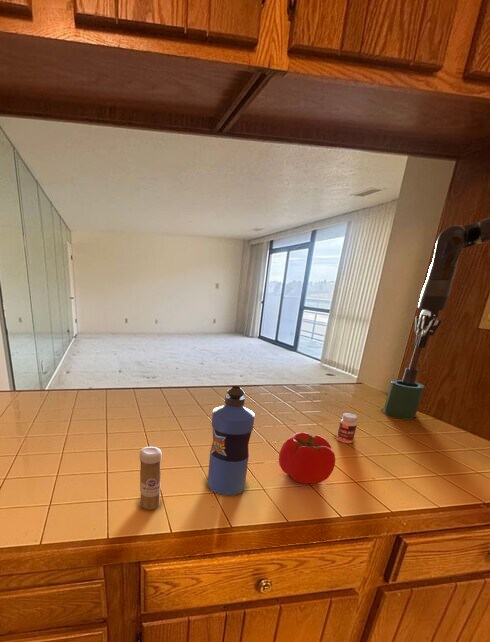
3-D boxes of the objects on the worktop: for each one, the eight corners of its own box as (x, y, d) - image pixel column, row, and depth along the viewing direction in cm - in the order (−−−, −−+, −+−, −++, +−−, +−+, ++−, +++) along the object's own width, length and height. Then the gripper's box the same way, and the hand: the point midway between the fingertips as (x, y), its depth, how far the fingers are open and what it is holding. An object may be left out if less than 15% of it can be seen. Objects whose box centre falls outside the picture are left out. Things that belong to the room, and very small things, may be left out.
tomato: (282, 458, 97) (288, 424, 93) (333, 471, 91) (342, 435, 87) (269, 481, 87) (275, 443, 83) (326, 497, 80) (336, 458, 76)
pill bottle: (336, 441, 108) (342, 417, 105) (335, 435, 112) (341, 411, 109) (353, 444, 106) (359, 419, 103) (352, 438, 110) (358, 414, 107)
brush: (412, 381, 127) (427, 331, 121) (417, 384, 124) (432, 333, 117) (400, 380, 128) (414, 331, 121) (404, 383, 125) (419, 332, 118)
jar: (408, 410, 135) (417, 381, 130) (419, 420, 126) (429, 389, 121) (379, 408, 137) (387, 379, 132) (388, 417, 128) (397, 386, 123)
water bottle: (219, 499, 79) (229, 396, 69) (200, 479, 87) (206, 383, 77) (253, 490, 82) (267, 391, 73) (231, 471, 90) (241, 379, 81)
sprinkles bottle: (144, 512, 74) (144, 457, 69) (137, 500, 78) (136, 447, 73) (163, 507, 76) (165, 453, 71) (155, 496, 80) (156, 444, 75)
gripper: (459, 295, 107) (441, 351, 114) (437, 293, 120) (422, 343, 127) (432, 295, 109) (416, 349, 116) (413, 293, 121) (399, 342, 128)
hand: (419, 346), depth 121 cm, fingers closed on brush, 2 cm apart
